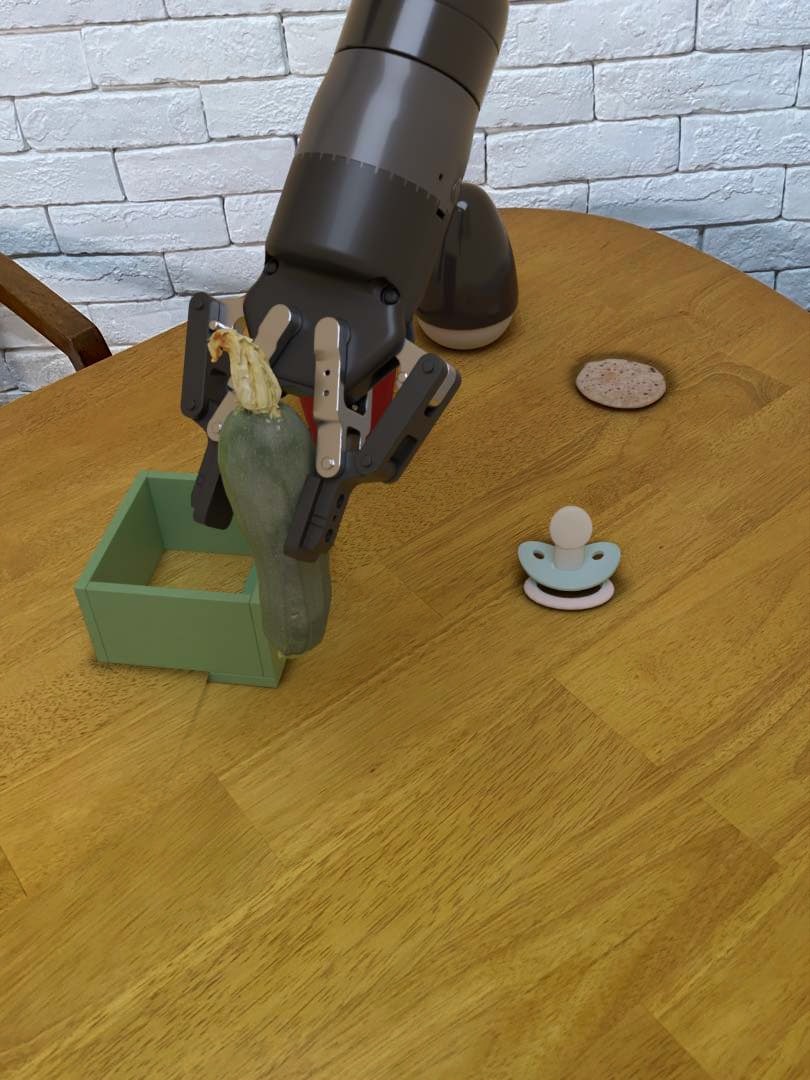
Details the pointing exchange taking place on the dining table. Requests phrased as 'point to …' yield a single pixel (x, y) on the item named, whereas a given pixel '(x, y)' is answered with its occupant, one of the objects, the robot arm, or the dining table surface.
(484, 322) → the pump dispenser
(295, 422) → the vegetable
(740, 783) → the dining table surface
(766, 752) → the dining table surface
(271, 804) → the dining table surface
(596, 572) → the pacifier
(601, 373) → the flatbread
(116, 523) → the green bin
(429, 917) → the dining table surface
